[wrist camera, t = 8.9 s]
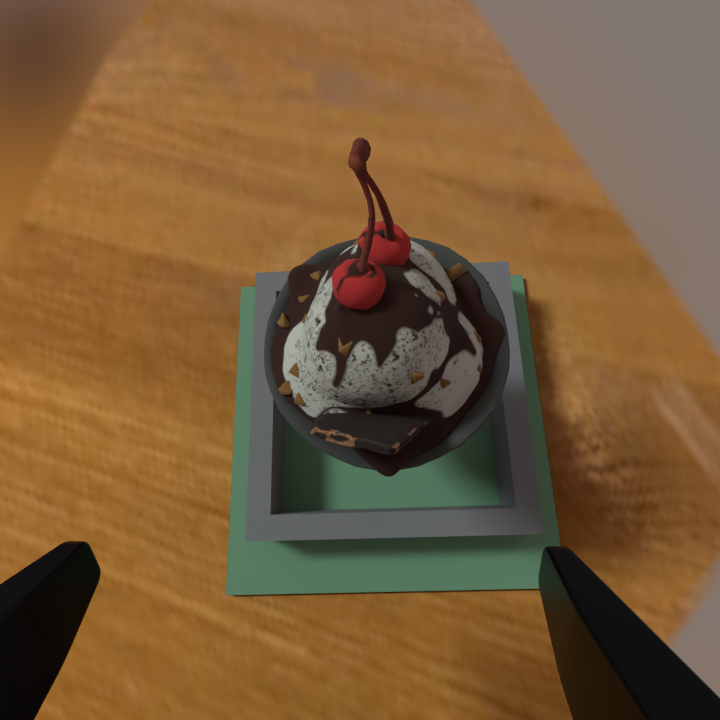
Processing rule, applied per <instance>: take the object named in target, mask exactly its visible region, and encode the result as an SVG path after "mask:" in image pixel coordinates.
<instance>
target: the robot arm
mask: <svg viewBox="0 0 720 720" xmlns="http://www.w3.org/2000/svg"><path fill="white" fill-rule="evenodd" d="M100 573H101V572H100V567H99V564H98V562H97V560H96V558H95V556H94V554H93V551H92V549H91V547H90V545H89V544H88V543H87V542H84V541H68V542H64V543H62V544H60V545H59V546H57V547H56V548H54V549H53V550H51V551H50V552H48V553H47V554H45V555H44V556H42V557H41V558H39V559H38V560H36V561H35V562H33V563H32V564H30V565H29V566H27V567H26V568H24V569H23V570H21V571H20V572H18V573H17V574H15V575H14V576H12V577H11V578H9V579H8V580H6V581H5V582H3V583H2V584H0V720H34V719H35V717H36V715H37V713H38V711H39V709H40V707H41V705H42V704H43V702H44V700H45V698H46V696H47V694H48V692H49V690H50V688H51V687H52V685H53V683H54V681H55V679H56V677H57V675H58V673H59V671H60V669H61V667H62V665H63V663H64V661H65V659H66V657H67V655H68V652H69V650H70V648H71V646H72V643H73V641H74V639H75V636H76V634H77V632H78V629H79V627H80V625H81V622H82V620H83V618H84V615H85V613H86V611H87V608H88V606H89V604H90V601H91V599H92V596H93V594H94V592H95V589H96V587H97V585H98V582H99V579H100ZM538 581H539V589H540V594H541V598H542V602H543V607H544V611H545V616H546V620H547V624H548V629H549V633H550V637H551V642H552V646H553V651H554V655H555V659H556V664H557V668H558V672H559V676H560V680H561V683H562V686H563V690H564V693H565V696H566V699H567V702H568V705H569V708H570V711H571V714H572V717H573V720H720V698H719V697H718V696H717V695H716V694H715V693H714V692H713V691H712V690H711V689H710V688H709V687H708V686H707V685H706V684H705V683H704V682H703V681H702V680H701V679H700V678H699V677H698V676H697V675H696V674H695V673H694V672H693V671H692V670H691V669H690V668H689V667H688V666H687V665H686V664H685V663H684V662H683V661H682V660H681V659H680V658H679V657H678V656H677V655H676V654H675V653H674V652H673V651H672V650H671V649H670V648H669V647H668V646H667V645H666V644H665V643H664V642H663V641H662V640H661V639H660V638H659V637H658V636H657V635H656V634H655V633H654V632H653V631H652V630H651V629H650V628H649V627H648V626H647V625H646V624H645V623H644V622H643V621H642V620H641V619H640V618H639V617H638V616H637V615H636V614H635V613H634V612H633V611H632V610H631V609H630V608H629V607H628V606H627V605H626V604H625V603H624V602H623V601H622V600H621V599H620V598H619V597H618V596H617V595H616V594H615V593H614V592H613V591H612V590H611V589H610V588H609V587H608V586H607V585H606V584H605V583H604V582H603V581H602V580H601V579H600V578H599V577H598V576H597V575H596V574H595V573H594V572H593V571H592V570H591V569H590V568H589V567H588V566H587V565H586V564H585V563H584V562H583V561H582V560H581V559H580V558H579V557H578V556H577V555H576V554H575V553H574V552H573V551H572V550H571V549H569V548H568V547H564V546H547V547H545V548H544V549H543V553H542V558H541V564H540V570H539V576H538Z"/></svg>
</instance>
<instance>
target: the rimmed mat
mask: <svg viewBox="0 0 720 720" xmlns="http://www.w3.org/2000/svg"><path fill="white" fill-rule="evenodd" d="M471 264H472V265H473V266H474V267H475V268H476V269H477V270H478V271H479V272H480V273H481V274H482V275H483V276H484V277H485V279H486V281H487V282H488V284H489V286H490V287H491V289H492V291H493V292H494V294H495V296H496V298H497V300H498V302H499V305H500V307H501V309H502V311H503V314H504V318H505V322H506V327H507V331H508V338H509V348H510V362H509V373H508V376H507V380H506V383H505V387H504V390H503V392H502V394H501V397H500V399H499V401H498V404H497V406H496V408H495V410H494V411H493V412H492V413H491V415H490V416H489V417H488V418H487V420H486V421H485V422H484V423H483V425H482V426H481V427H480V428H479V429H478V430H477V431H476V432H475V433H474V434H473V435H472V436H471V437H470V438H469V439H468V440H467V441H465V442H464V443H463V444H462V445H461V446H459V447H458V448H456V449H454V450H452V451H450V452H449V453H447V454H445V455H443V456H442V457H440V458H438V459H435V460H433V461H431V462H428V463H426V464H424V465H421V466H419V467H414V468H408V469H403V470H399V471H398V472H397V473H396V474H395V475H393V476H392V477H388V476H384V475H382V474H380V473H379V472H377V471H376V470H371V469H365V468H359V467H355V466H352V465H350V464H348V463H345V462H343V461H340V460H338V459H335V458H334V457H332V456H330V455H328V454H326V453H325V452H323V451H321V450H319V449H317V448H315V447H314V446H312V445H311V444H310V443H309V442H308V441H307V440H306V439H305V438H304V437H303V436H302V435H300V434H299V433H298V432H297V431H296V430H295V429H294V428H293V427H292V425H291V424H290V423H289V422H288V421H287V419H286V418H285V417H284V416H283V415H282V413H281V412H280V411H279V409H278V407H277V404H276V402H275V400H274V398H273V396H272V394H271V391H270V389H269V385H268V382H267V379H266V375H265V367H264V343H265V334H266V329H267V323H268V319H269V316H270V313H271V311H272V308H273V306H274V303H275V301H276V299H277V297H278V295H279V293H280V291H281V290H282V288H283V286H284V284H285V282H286V281H287V280H288V275H289V273H290V272H291V271H287V272H264V273H256V284H255V286H254V287H241V302H240V323H239V343H238V363H237V383H236V404H235V424H234V444H233V465H232V485H231V505H230V526H229V546H228V566H227V586H226V595H260V594H307V593H354V592H401V591H448V590H495V589H539V581H538V576H539V570H540V564H541V558H542V553H543V549H544V548H545V547H547V546H561V545H560V537H559V530H558V523H557V516H556V509H555V502H554V495H553V488H552V481H551V474H550V467H549V460H548V453H547V446H546V439H545V431H544V424H543V417H542V410H541V403H540V396H539V389H538V382H537V375H536V368H535V361H534V354H533V347H532V340H531V332H530V325H529V318H528V311H527V304H526V297H525V290H524V283H523V276H522V275H510V270H509V263H508V262H487V263H471Z"/></svg>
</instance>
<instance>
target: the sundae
mask: <svg viewBox="0 0 720 720" xmlns="http://www.w3.org/2000/svg"><path fill="white" fill-rule="evenodd" d="M370 151H371V147H370V145H369V143H368V141H367V140H365V139H364V138H357V139H356V140H355V141H354V142H353V145H352V149H351V152H350V156H349V159H348V164H349V167H350V168H351V169H353V171H354V172H355V174H356V176H357V178H358V180H359V182H360V184H361V186H362V189H363V191H364V194H365V197H366V199H367V203H368V211H369V219H368V226H367V227H366V228H365V230H364V231H363V232H362V234H361V235H360V236H359V239H354V240H350V241H346V242H342V243H339V244H336V245H334V246H331V247H329V248H326V249H324V250H321V251H319V252H318V253H316V254H315V255H314V256H312V257H311V258H310V259H308V260H307V261H306V262H304V263H303V264H302V265H299V266H297V267H295V268H293V269H292V270H291V272H290V273H289V275H288V280H287V281H286V282H285V284H284V286H283V288H282V290H281V291H280V293H279V295H278V297H277V299H276V301H275V303H274V306H273V308H272V311H271V313H270V316H269V319H268V323H267V329H266V334H265V343H264V367H265V375H266V379H267V382H268V385H269V389H270V391H271V394H272V396H273V398H274V400H275V402H276V404H277V407H278V409H279V411H280V412H281V413H282V415H283V416H284V417H285V418H286V419H287V421H288V422H289V423H290V424H291V425H292V427H293V428H294V429H295V430H296V431H297V432H298V433H299V434H300V435H302V436H303V437H304V438H305V439H306V440H307V441H308V442H309V443H310V444H311V445H312V446H314V447H315V448H317V449H319V450H321V451H323V452H325V453H326V454H328V455H330V456H332V457H334V458H335V459H338V460H340V461H343V462H345V463H348V464H350V465H352V466H355V467H359V468H365V469H371V470H376V471H377V472H379V473H380V474H382V475H384V476H388V477H392V476H393V475H395V474H396V473H397V472H398V471H399V470H403V469H408V468H414V467H419V466H421V465H424V464H426V463H428V462H431V461H433V460H435V459H438V458H440V457H442V456H443V455H445V454H447V453H449V452H450V451H452V450H454V449H456V448H458V447H459V446H461V445H462V444H463V443H464V442H465V441H467V440H468V439H469V438H470V437H471V436H472V435H473V434H474V433H475V432H476V431H477V430H478V429H479V428H480V427H481V426H482V425H483V423H484V422H485V421H486V420H487V418H488V417H489V416H490V415H491V413H492V412H493V411H494V410H495V408H496V406H497V404H498V401H499V399H500V397H501V394H502V392H503V390H504V387H505V383H506V380H507V376H508V373H509V362H510V348H509V338H508V331H507V327H506V322H505V318H504V314H503V311H502V309H501V307H500V305H499V302H498V300H497V298H496V296H495V294H494V292H493V291H492V289H491V287H490V286H489V284H488V282H487V281H486V279H485V277H484V276H483V275H482V274H481V273H480V272H479V271H478V270H477V269H476V268H475V267H474V266H473V265H472V264H471V263H469V262H468V261H467V260H466V259H465V258H463V257H462V256H460V255H459V254H457V253H456V252H454V251H453V250H451V249H450V248H448V247H445V246H442V245H439V244H436V243H433V242H430V241H427V240H422V239H417V238H411V237H409V236H408V235H407V234H406V233H405V232H404V231H403V230H402V229H401V228H400V227H399V226H397V225H396V224H393V220H392V217H391V215H390V212H389V209H388V207H387V204H386V202H385V200H384V198H383V196H382V194H381V192H380V190H379V188H378V187H377V185H376V184H375V182H374V180H373V179H372V178H371V177H370V175H369V174H368V172H367V169H366V161H367V160H368V158H369V156H370ZM367 184H368V185H369V187H370V188H371V190H372V191H373V193H374V194H375V196H376V199H377V202H378V205H379V208H380V211H381V213H382V216H383V220H384V221H381V222H376V223H375V209H374V204H373V199H372V196H371V193H370V190H369V188H368V185H367Z"/></svg>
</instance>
